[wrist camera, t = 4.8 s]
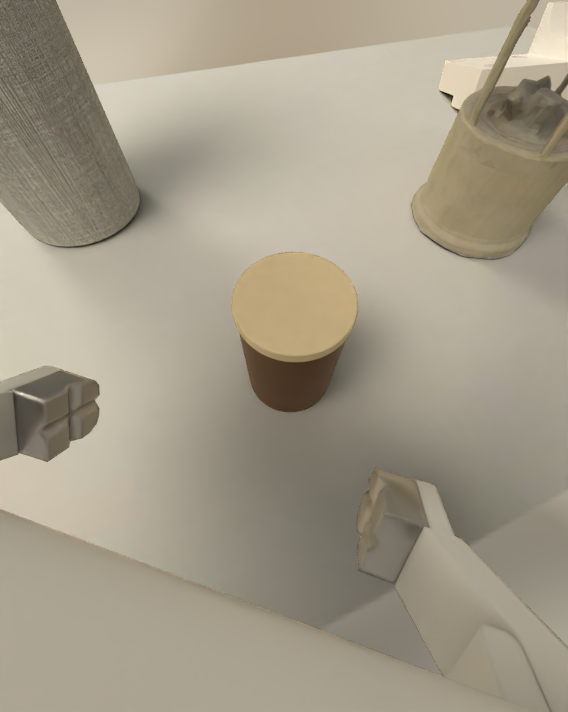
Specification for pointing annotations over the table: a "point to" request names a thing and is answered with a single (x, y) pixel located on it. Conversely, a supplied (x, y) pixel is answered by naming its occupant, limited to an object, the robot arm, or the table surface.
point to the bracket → (516, 61)
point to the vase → (56, 134)
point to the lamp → (497, 163)
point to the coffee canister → (293, 326)
